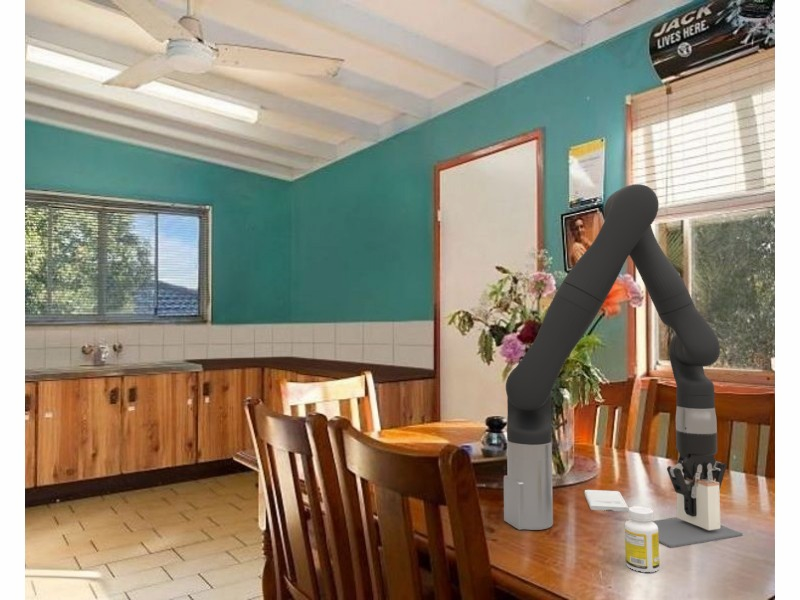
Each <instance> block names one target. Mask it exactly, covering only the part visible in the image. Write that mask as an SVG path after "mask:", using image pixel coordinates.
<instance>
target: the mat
mask: <svg viewBox="0 0 800 600" xmlns="http://www.w3.org/2000/svg"><path fill="white" fill-rule="evenodd" d="M652 522H654V523H655V524H656V525H657V527H658V537H659V544H660V545H664V546H666V547H667V548H670V549H671V548H672V547H673V548H678V547H677V546H679V547H683V545H684V546H689V544H690V545H695V544H700V543H707V541H708V542H712V541H718V540H723V539H724V540H726V539H730V538H735V537H741V536H743V534H744V533H742V532H740V531H737V530H735V529H733V528H729V527H727V526H725V525H721V524H720V529H714V530H707V529H704V528H702V527H699V526H697V525H694V524H692V523H689V522H687V521H684V520H681V519H679V518H677V516H676V517H672V518H664V519H658V520H652ZM673 548H672V549H673Z"/></svg>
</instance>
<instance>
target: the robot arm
mask: <svg viewBox="0 0 800 600" xmlns="http://www.w3.org/2000/svg"><path fill="white" fill-rule="evenodd" d="M659 207H660V206H659V199H658V196H657V194H656V192H655V191H654V190H653V188H651V187H650V186H648V185H645V184H638V183H637V184H629V185H626V186H623V187H621V188H619V189H618V190H616V191H615V192H613V193H611V194H610V196H608V198H607V199H606V201H605V204H604V207H603V215H604V218H605V219H604V222H603V224H602V226H601V228H600V230H599V232H598V234H597V235H596V237H595V239H594V241H593V242H592V243H591V245H590V246H589V247H588V248H587V249H586V250H585V252H584V253H583V254H582V255H581V257H580V258H579V259H578V260H577V261H576V262H575V264H574V265H572V268H571V269H570V271H569V272H568V273H566V276H565V278H564V279H563V280H562V282H561V284H560V286H559V288H558V290H557V291H556V292H555V294H554V297H553V298H552V301H551V302H550V304H549V306H548V308H547V311H546V313H545V315H544V317H543V320H542V323H541V325H540V328H539V330H538V332H537V335H536V337H535V339H534V341H533V342H532V344H531V346H530V347H529V348H528V350H527V351H526V353H525V354H524V356H523V357H522V358H521V359H520V362H519V363H518V364H517V365H516V367H514V368H513V369H512V370H511V372H509V375H508V376H507V378H506V381H505V392H506V396H507V397H506V398H507V400H506V403H507V405H506V406H507V407H506V408H507V415H506V417H507V419H506V420H507V422H506V438H507V439H506V449H507V450H506V451H507V452H506V453H507V454H506V457H507V459H506V462H507V463H506V464H507V466H506V467H507V468H506V469H507V475H506V474H505V475H504V476H503V521H504V522H506V523H507V524H509V525H510V526H512V527H514V528H516V529H517V530H528V531H530V530H531V531H533V530H534V531H538V530H546V529H549V528H551V527H553V526H554V512H553V511H554V509H553V508H554V506H553V503H554V501H553V445H552V444H553V443H552V442H553V441H552V440H553V436H552V431H553V430H552V429H553V428H552V423H553V422H552V390H553V389H554V388H553V387H554V386H555V383H556V380H557V379H558V376H559V375H560V373H561V371H562V368H563V366H564V365H565V363H566V361H567V359H568V357H569V355H570V354H571V352H572V351H574V348H575V347H576V346H577V345H578V343H579V342H580V340H581V339H582V337H583V336H584V335H585V334H586V332H587V331H588V330H589V328H590V326H591V325H592V323H593V322H594V320H595V318H596V316H597V315H598V313H599V311H600V310H601V308H602V307H603V305H604V303H605V301H606V300H607V297H608V296H609V294H610V292H611V291H612V288H613V286H614V285H615V283H616V281H617V279H618V277H619V275H620V273H621V270H622V268H623V266H624V265H625V263H626V261H627V260H628V258H630V259H631V260H632V263H633V264H634V266H635V268H636V270H637V272H638V274H639V276H640V278H641V281H642V282H643V284H644V286H645V288H646V291H647V293H648V295H649V297H650V299H651V301H652V303H653V305H654V308H655V310H656V312H657V314H658V317H659V318H660V320H661V322H662V324H664V325H665V326H667V327H669V328H671V329H672V330H673V331H674V334H675V335H673V337H672V338H671V341H670V342H669V343H670V344H669V349H668V350H669V351H668V354H669V361H670V366H671V371H672V374H673V379H674V381H675V384H676V391H675V393H676V411H675V439H676V440H675V442H676V443H675V444H676V445H675V447H676V450H677V451H678V454H679V456H678V460H677V464H675V465H674V466H671V465H668V466H667V468H666V471H667V473H668V476H669V479H670V482H671V483H672V486H673V489H674V492H675V493H676V494H677V493H679V494H682V495H683V496H684V510H685V512H686V514H687V515H690V516H692V517H693V516H696V515H697V511H696V498H695V497H696V487H698V481H700V479H707V480H713V481H716V482H719V491H720V490H721V487H722V483H723V479H724V476H725V473H726V470H727V464H726V463H723V462H720V461H717V460H716V456H715V455H716V454H717V453H718V431H717V429H718V427H717V425H718V423H717V415H716V408H715V407H716V406H715V405H716V404H715V403H716V401H715V398H716V397H715V384H714V383H713V381H712V380H711V379H710V378H709V377H707V376H706V374H705V371H704V367H708V366H711V365H713V364H715V363H716V362H717V361H718V359H719V357H720V354H721V346H720V345H721V344H720V341H719V339H718V336H717V334H716V332H715V331H714V330H713V329H712V327H711V326H710V324H709V323H708V322H707V320H706V318H705V317H703V315H702V314H701V313H700V312H699V310H698V309H697V308H696V306H695V303H694V300H693V298H692V296H691V294H690V292H689V290H688V288H687V286H686V284H685V282H684V280H683V279H682V276H681V275H680V273H679V272H678V270H677V269H676V267H675V266H674V265H673V263H672V262H671V261H670V260H669V258H668V257H667V255H666V254H665V252H664V251H663V249H662V248H661V246H660V244H659V243H658V240H657V239H656V237H655V234H654V231H653V227H652V224H653V222H654V221H655V219H656V217H657V216H658V212H659ZM687 478H689V479H691V480H693V481H689V480H688V479H687ZM689 485H690V491H689Z"/></svg>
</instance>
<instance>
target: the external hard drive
mask: <svg viewBox="0 0 800 600" xmlns="http://www.w3.org/2000/svg"><path fill="white" fill-rule="evenodd" d="M584 496H585V498H586V501H587V504H588V506H589V509H590V510H591V511H604V510H605V511H606V510H607V511H613V512H623V513H624V512H626V513H629V508H630V507H629V506H628V504H627V503H626V501H625V499H624V497H623V496H622V494H621V492H620V491H618V490H601V489H585V490H584ZM605 511H604V512H605Z"/></svg>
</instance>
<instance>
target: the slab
mask: <svg viewBox="0 0 800 600" xmlns="http://www.w3.org/2000/svg"><path fill="white" fill-rule="evenodd" d="M687 479H688V480H689V481H693V480H691V479H689V478H687ZM689 491H690V485H689ZM720 493H721V492H720V490H719V482H716V480H714V481H713V480H707V479H700V481H698V487H696V497H695V498H696V511H697V515H696V516H693V517H692V516H690V515H687V514H686V512H685V510H684V496H683V495H682V494H679V493H676V517H677V518H679V519H681V520H684V521H687V522H689V523H692V524H694V525H697V526H699V527H702V528H704V529H707V530H714V529H720V525H721V504H720V502H721V501H720V500H721V499H720Z"/></svg>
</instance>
